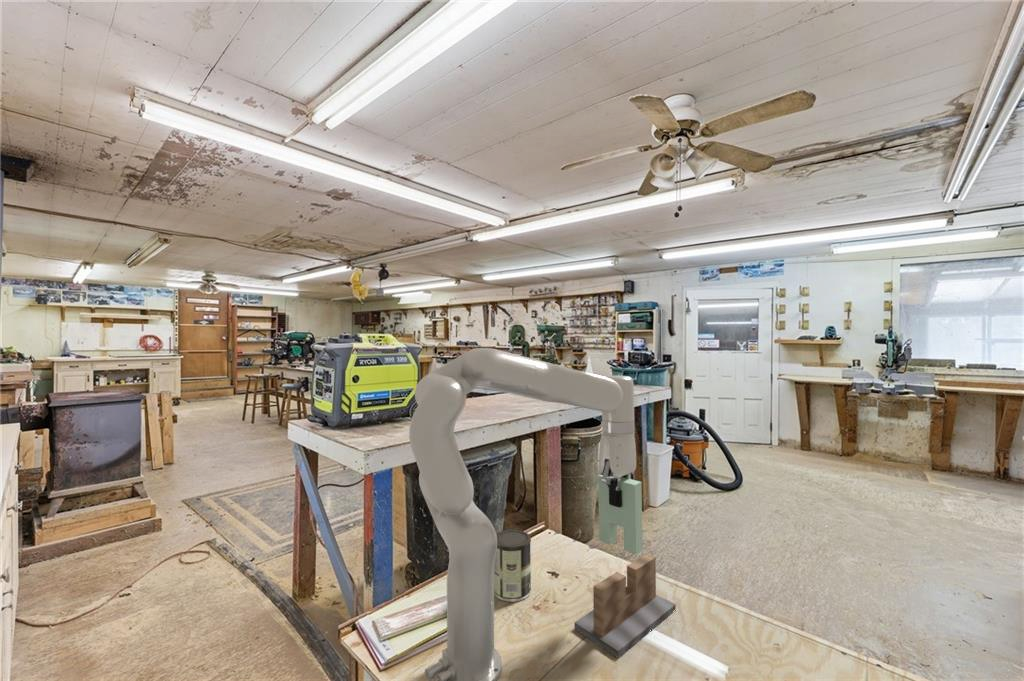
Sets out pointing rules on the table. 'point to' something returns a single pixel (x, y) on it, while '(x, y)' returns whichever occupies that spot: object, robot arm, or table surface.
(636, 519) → the green slat
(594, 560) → the table surface
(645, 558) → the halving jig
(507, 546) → the coffee can
